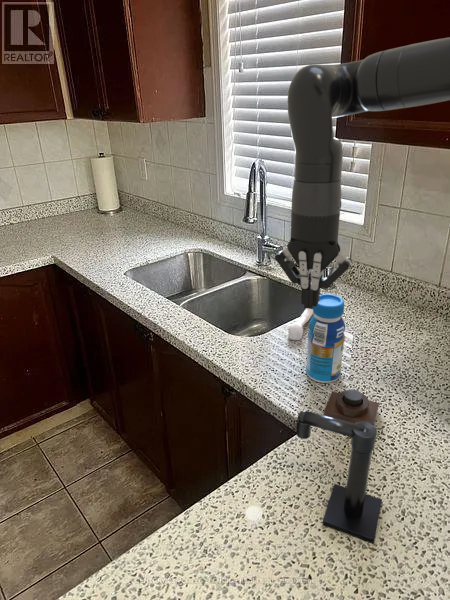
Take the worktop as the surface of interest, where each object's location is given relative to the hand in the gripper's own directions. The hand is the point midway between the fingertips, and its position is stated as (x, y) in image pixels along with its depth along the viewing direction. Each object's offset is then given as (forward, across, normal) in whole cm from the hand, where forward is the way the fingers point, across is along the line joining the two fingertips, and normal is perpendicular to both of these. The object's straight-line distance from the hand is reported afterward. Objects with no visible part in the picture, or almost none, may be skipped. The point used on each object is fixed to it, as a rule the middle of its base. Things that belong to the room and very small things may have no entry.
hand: (310, 306), depth 77 cm
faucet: (+28, -12, +43) cm, 53 cm away
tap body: (+29, +13, -14) cm, 35 cm away
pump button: (+25, +8, +10) cm, 28 cm away
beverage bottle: (+29, -1, +22) cm, 36 cm away
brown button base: (+29, +8, +10) cm, 31 cm away
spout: (+15, +9, -15) cm, 23 cm away
